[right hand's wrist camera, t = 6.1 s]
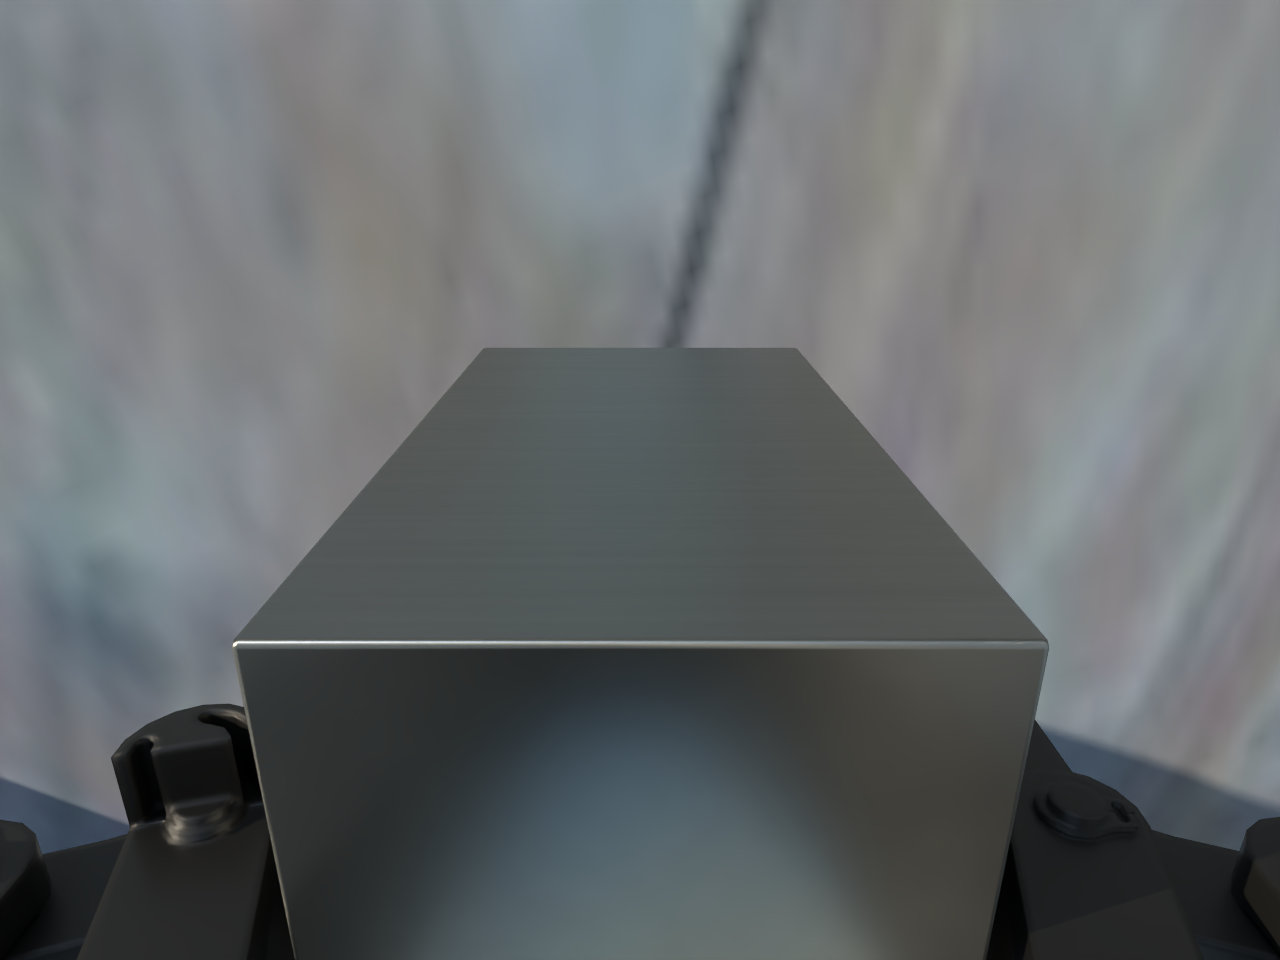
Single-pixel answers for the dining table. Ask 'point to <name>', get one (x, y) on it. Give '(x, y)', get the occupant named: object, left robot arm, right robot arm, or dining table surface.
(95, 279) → the dining table surface
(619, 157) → the dining table surface
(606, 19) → the dining table surface
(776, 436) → the bar
